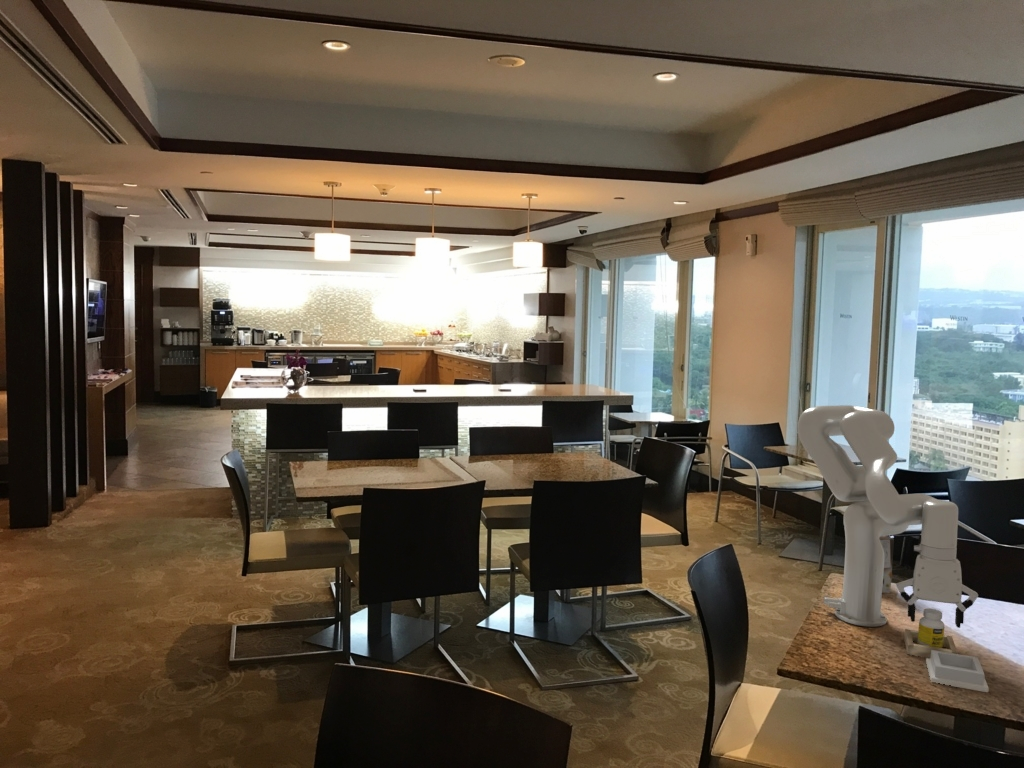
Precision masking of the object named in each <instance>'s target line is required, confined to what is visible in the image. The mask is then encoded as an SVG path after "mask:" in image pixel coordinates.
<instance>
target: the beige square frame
mask: <svg viewBox="0 0 1024 768" xmlns="http://www.w3.org/2000/svg"><path fill="white" fill-rule="evenodd" d="M903 640H904V645H906V646H905V650H907V651H906V655H907V654H910V655H909V656H912V655H917V656H916V657H918V656H922V657H921V658H924V657H927V658H928V659H930V658H931V650H935V651H941V652H947V653H954V654H959V652H958V650H957V647H956V644H955V642H954V641H955V640H954V638H953V635H952V636H951V635H946V634H944V636H943V646H944V647H942V648H937V647H931V646H925V645H919V644H917V641H918V630H914V629H908V628H904V634H903ZM913 641H914V642H913Z"/></svg>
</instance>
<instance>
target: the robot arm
mask: <svg viewBox="0 0 1024 768" xmlns="http://www.w3.org/2000/svg"><path fill="white" fill-rule="evenodd" d="M894 432H895V423H894V421H893V418H892V417H891V416H890V415H889V414H888V413H887V412H885V411H883V410H879V409H872V408H867V407H863V406H862V407H861V406H858V405H850V404H849V405H848V404H847V405H846V404H844V405H843V404H842V405H840V404H839V405H818V406H817V405H816V406H813V407H809V408H807V409H805V410H804V411H803V412H802V413H800V416H799V417H798V422H797V436H798V439H799V441H800V443H801V445H802V447H803V448H804V450H805V451H806V453H807V454H808V455H809V457H810V458H811V460H812V461H813V462H814V464H815V466H816V467H817V469H818V471H819V472H820V474H821V476H822V477H823V479H824V481H825V483H826V484H827V486H828V488H829V489H830V491H831V493H832V494H833V496H834V497H835V498H836V499H837V500H838V501H841V502H844V503H851V502H852V503H851V504H850V505H848V506H847V507H846V508H845V510H844V513H843V518H842V519H843V526H844V527H843V528H844V536H845V537H844V539H845V550H844V570H843V581H842V583H843V584H842V593H841V594H840V597H836V598H834V597H833V598H832V597H828V596H824V597H823V605H827V606H828V608H835V609H834V615H835V616H836V617H837V619H839V620H841V621H843V622H846V623H848V624H852V625H855V626H860V627H869V628H870V627H872V628H873V627H876V628H877V627H882V626H884V625H886V624H887V620H888V619H887V616H886V615H885V614H884V613H882V612H881V610H882V601H883V600H882V599H883V598H882V597H883V593H882V587H883V573H884V550H883V547H882V545H881V542H880V539H879V537H881V536H893V535H900V534H903V533H904V532H905V531H906V530H908V528H909V526H917V525H919V526H920V525H921V532H920V533H921V534H920V536H921V538H920V543H919V544H918V545H915V544H914V545H913V552H918V553H919V554H917V556H916V559H915V564H914V568H913V577H912V578H908V579H906V580H902V581H899V582H897V583H895V586H896V588H897V590H898V592H899V595H900V596H901V598H903V600H905V602H907V617H909V618H910V621H911V622H913V623H914V622H916V621H915V620H916V602H917V601H918V600H921V601H928V602H935V603H944V604H951V605H952V604H953V605H954V604H955V606H956V608H955V617H954V618H955V619H954V620H955V621H954V622H955V627H956V628H959V629H960V628H961V624H964V620H965V619H964V617H965V612H966V610H968V609H969V608H970V607H971V606H973V604H974V603H975V601H976V600H977V599H978V598H979V594H978V592H976V591H975V590H973V589H971V588H970V587H968V586H967V585H964V584H963V581H962V578H963V577H962V567H961V561H960V560H959V559H958V558H957V550H958V549H957V546H958V526H959V506H958V505H957V504H956V503H955V502H953V501H950V500H949V501H948V500H945V499H944V500H943V499H937V498H935V497H932V496H931V495H928V494H926V493H908V494H907V493H905V494H899V492H898V491H897V489H896V488H895V486H894V484H893V483H892V481H891V480H890V479H889V477H888V476H887V475H886V471H888V470H889V469H890V468H891V467H892V466H894V464H895V463H896V462H897V459H898V454H897V452H896V451H895V449H894V448H893V447H892V445H891V444H890V442H889V440H890V439H891V438H892V437H893V435H894ZM836 436H843V437H844V439H845V441H846V442H847V443H848V445H849V446H850V448H851V449H852V451H853V453H854V454H855V455H856V457H857V458H858V460H859V462H860V464H861V465H856V464H854V462H853V461H852V460H851V459H850V457H849V456H848V454H847V452H846V450H845V449H844V448H843V446H841V445H840V444H839V443H837V442H836V441H835V440H834V439H832V438H831V437H836ZM910 586H912V593H911V594H910V595H909V594H908V593H907V591H906V590H905V588H907V587H910ZM962 593H964V594H967V595H969V596H968V598H966V599H965V600H964V601H962V595H963V594H962Z"/></svg>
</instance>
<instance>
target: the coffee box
mask: <svg viewBox="0 0 1024 768" xmlns="http://www.w3.org/2000/svg"><path fill="white" fill-rule="evenodd" d="M879 539H880V542H881V545H882V547H883V550H884V573H883V587H882V594H884V593H885V594H886V593H887V594H890V593H891V588H892V575H893V559H894V558H893V557H894V543H895V539H894V538H893V537H891V536H890V535H887V536H881V537H879Z"/></svg>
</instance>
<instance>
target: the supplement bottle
mask: <svg viewBox="0 0 1024 768" xmlns="http://www.w3.org/2000/svg"><path fill="white" fill-rule="evenodd" d="M942 619H943V612H942V611H941V610H940V609H935V608H929V607H927V608H924V609H923V615H922V617H921V618H920V619H919V621H918V630H917V631H918V641H917V642H916V644H919V645H925V646H931V647H937V648H944V647H943V636H944V635H945V623H944V622H943V620H942Z"/></svg>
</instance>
